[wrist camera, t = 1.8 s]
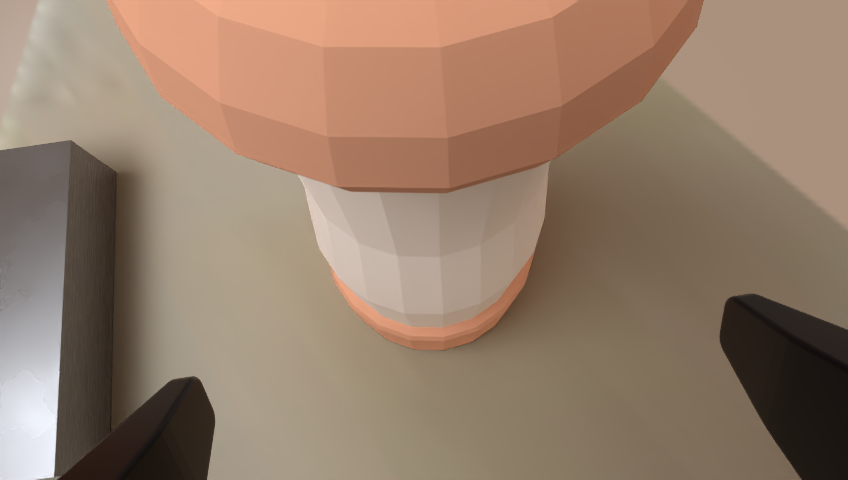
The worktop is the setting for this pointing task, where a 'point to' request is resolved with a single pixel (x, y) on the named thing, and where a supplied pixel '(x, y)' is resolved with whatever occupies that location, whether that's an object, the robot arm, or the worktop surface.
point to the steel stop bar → (54, 307)
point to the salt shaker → (411, 126)
